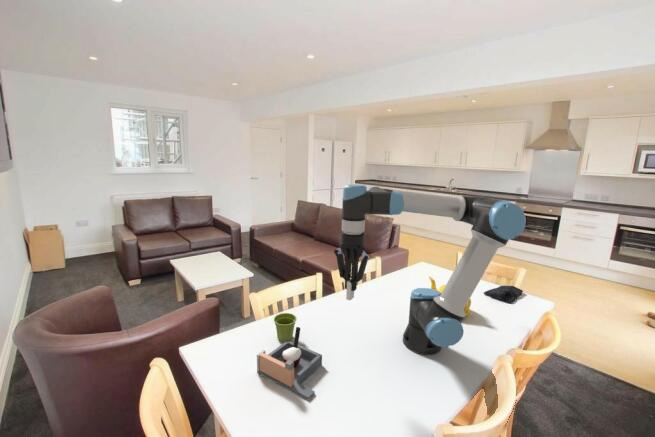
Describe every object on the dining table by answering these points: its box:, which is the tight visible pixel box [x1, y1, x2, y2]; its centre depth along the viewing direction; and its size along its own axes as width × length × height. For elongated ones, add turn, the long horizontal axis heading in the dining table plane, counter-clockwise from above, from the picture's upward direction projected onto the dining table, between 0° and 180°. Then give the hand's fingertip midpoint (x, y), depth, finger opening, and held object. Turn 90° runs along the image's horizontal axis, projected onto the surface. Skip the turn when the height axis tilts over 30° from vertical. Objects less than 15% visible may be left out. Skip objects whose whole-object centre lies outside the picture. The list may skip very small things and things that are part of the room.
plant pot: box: [273, 312, 298, 343], centre depth 128 cm, size 9×9×9 cm
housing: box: [256, 340, 323, 401], centre depth 108 cm, size 22×16×7 cm
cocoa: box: [282, 326, 301, 367], centre depth 110 cm, size 10×6×12 cm, turn 134°
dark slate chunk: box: [483, 285, 524, 304], centre depth 176 cm, size 15×22×5 cm
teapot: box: [428, 276, 472, 317], centre depth 156 cm, size 25×18×14 cm
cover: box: [260, 352, 294, 387], centre depth 104 cm, size 14×2×8 cm, turn 57°
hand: (350, 298), depth 107 cm, fingers closed
